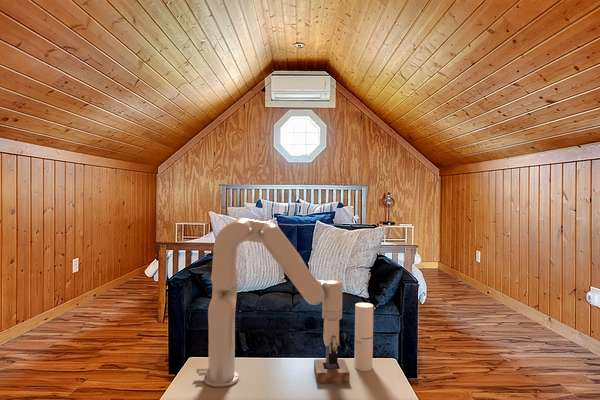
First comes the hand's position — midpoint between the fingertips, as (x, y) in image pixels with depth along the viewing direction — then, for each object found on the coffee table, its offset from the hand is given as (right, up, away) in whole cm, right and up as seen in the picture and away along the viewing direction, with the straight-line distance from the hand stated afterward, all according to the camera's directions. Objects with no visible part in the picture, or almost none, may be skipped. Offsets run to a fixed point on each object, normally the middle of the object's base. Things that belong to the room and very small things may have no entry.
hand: (331, 358), depth 159 cm
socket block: (0, -7, 0) cm, 7 cm away
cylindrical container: (+13, -7, +9) cm, 18 cm away
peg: (0, -7, 0) cm, 7 cm away
